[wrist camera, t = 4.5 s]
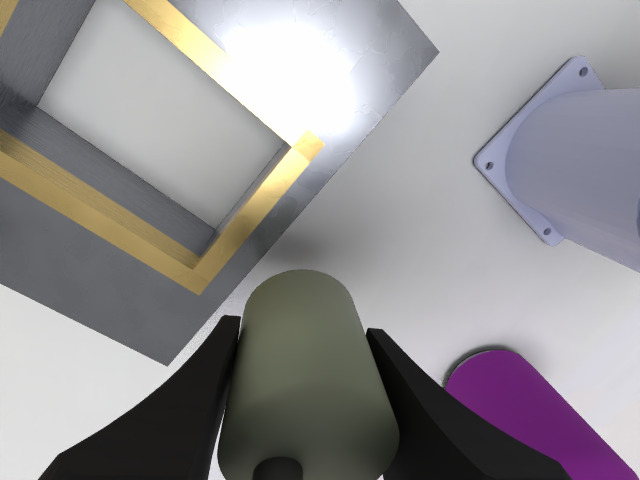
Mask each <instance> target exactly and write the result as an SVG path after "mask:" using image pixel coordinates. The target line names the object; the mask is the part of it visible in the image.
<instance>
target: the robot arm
mask: <svg viewBox="0 0 640 480" xmlns="http://www.w3.org/2000/svg"><path fill="white" fill-rule="evenodd" d="M581 69H582V74H581V75H579V72H580V70H581ZM488 162H489V163H490V166H489V167H488V168H487V169H486V168H485V166H486V164H487V163H488ZM474 164H475V166H476V167H477V168H478V169H479V170H480V172H481V173H482V174H483V175H484V176H485V177H486V178H487V179H488V180H489V181H490V183H491V184H492V185H493V186H494V187H495V188H496V189H497V190H498V191H499V193H500V194H501V195H502V196H503V197H504V198H505V199H506V200H507V201H508V202H509V204H510V205H511V206H512V207H513V208H514V209H515V210H516V211H517V212H518V214H519V215H520V216H521V217H522V218H523V219H524V220H525V221H526V222H527V224H528V225H529V226H530V227H531V228H532V229H533V230H534V231H535V232H536V233H537V235H538V236H539V237H540V238H541V239H542V240H543V241H544V242H545V243H546V244H547V245H549V246H555V245H557V244H558V243H559V242H560V241H562V240H563V239H564V238H566V239H568V240H571V241H573V242H575V243H577V244H579V245H581V246H584V247H586V248H588V249H590V250H592V251H594V252H597V253H599V254H601V255H603V256H605V257H607V258H609V259H612V260H614V261H616V262H618V263H620V264H622V265H625V266H627V267H629V268H631V269H633V270H635V271H637V272H640V88H627V89H609V90H606V89H605V88H604V86H603V84H602V83H601V81H600V80H599V78H598V76H597V75H596V73H595V72H594V70H593V68H592V67H591V65H590V64H589V62H588V60H587V59H586V58H585V57H584V56H576V57H573V58H571V59H570V60H569V61H568V62H567V63H566V64H565V65H564V66H563V67H562V68H561V69H560V70H559V71H558V72H557V73H556V74H555V75H554V76H553V77H552V79H551V80H550V81H549V82H548V83H547V84H546V85H545V86H544V87H543V88H542V89H541V90H540V91H539V92H538V93H537V94H536V95H535V96H534V97H533V98H532V99H531V100H530V101H529V102H528V103H527V104H526V105H525V106H524V107H523V108H522V109H521V110H520V111H519V112H518V113H517V114H516V115H515V116H514V117H513V118H512V119H511V120H510V121H509V122H508V123H507V124H506V125H505V127H504V128H503V129H502V130H501V131H500V132H499V133H498V134H497V135H496V136H495V137H494V138H493V139H492V140H491V141H490V142H489V143H488V144H487V145H486V146H485V147H484V148H483V149H482V150H481V151H480V152H479V153H478V154H477V155H476V157H475V159H474ZM545 229H547V230H546V231H545ZM544 231H545V232H544ZM240 319H241V316H229V315H224V316H222V317H221V319H220V320H219V322H218V324H217V325H216V327H215V328H214V329H213V331H212V332H211V333H210V335H209V336H208V337H207V339H206V340H205V341H204V342H203V343H202V345H201V346H200V347H199V348H198V349H197V350H196V352H195V353H194V354H193V355H192V356H191V357H190V358H189V359H188V360H187V361H186V362H185V363H184V364H183V365H182V366H181V367H180V368H179V369H178V370H177V371H176V372H175V373H174V374H173V375H172V376H171V377H170V378H169V379H168V380H167V381H166V382H164V383H163V384H162V385H161V386H160V387H159V388H157V389H156V390H155V391H154V392H153V393H151V394H150V395H149V396H148V397H146V398H145V399H144V400H143V401H141V402H140V403H139V404H137V405H136V406H135V407H133V408H132V409H131V410H129V411H128V412H126V413H125V414H123V415H122V416H120V417H119V418H117V419H116V420H115V421H113V422H112V423H110V424H109V425H107V426H106V427H104V428H103V429H101V430H100V431H98V432H96V433H95V434H93V435H91V436H90V437H88V438H86V439H84V440H83V441H81V442H79V443H78V444H76V445H74V446H73V447H71V448H69V449H67V450H65V451H64V452H62V453H60V454H58V455H57V457H56V458H55V459H54V460H53V462H52V463H51V464H50V465H49V466H48V468H47V469H46V470H45V471H44V473H43V474H42V475H41V476H40V478H39V479H38V480H208V475H209V470H210V465H211V459H212V455H213V451H214V446H215V442H216V439H217V435H218V431H219V428H220V424H221V421H222V417H223V414H224V410H225V406H226V402H227V397H228V391H229V386H230V381H231V376H232V371H233V365H234V360H235V355H236V350H237V345H238V337H239V328H240ZM366 338H367V341H368V344H369V347H370V349H371V352H372V355H373V358H374V360H375V363H376V366H377V369H378V371H379V374H380V377H381V380H382V383H383V385H384V388H385V391H386V394H387V396H388V399H389V402H390V405H391V407H392V410H393V413H394V416H395V419H396V421H397V424H398V428H399V446H398V450H397V453H396V455H395V457H394V459H393V461H392V463H391V464H390V466H389V467H388V468H387V470H386V471H385V472H384V473H383V478H384V480H573V479H572V478H571V477H570V476H569V474H568V473H567V472H566V470H565V469H564V468H563V467H562V465H561V464H560V463H559V462H558V461H556V460H554V459H552V458H550V457H549V456H547V455H545V454H543V453H541V452H539V451H537V450H535V449H533V448H531V447H529V446H528V445H526V444H524V443H522V442H520V441H519V440H517V439H515V438H514V437H512V436H510V435H508V434H507V433H505V432H503V431H502V430H500V429H499V428H497V427H495V426H494V425H492V424H491V423H489V422H488V421H486V420H485V419H483V418H482V417H480V416H479V415H477V414H476V413H474V412H473V411H472V410H470V409H469V408H467V407H466V406H465V405H463V404H462V403H461V402H459V401H458V400H457V399H456V398H454V397H453V396H452V395H451V394H449V393H448V392H447V391H446V390H444V389H443V388H442V387H441V386H440V385H438V384H437V383H436V382H435V381H434V380H433V379H432V378H431V377H430V376H428V375H427V374H426V373H425V372H424V371H423V370H422V369H421V368H420V367H419V366H418V365H417V364H416V363H415V362H414V361H413V360H412V359H411V358H410V357H409V356H408V355H407V354H406V353H405V352H404V351H403V350H402V349H401V348H400V347H399V346H398V345H397V344H396V343H395V342H394V341H393V340H392V339H391V337H390V336H389V335H388V334H387V333H386V332H384V331H383V330H382V329H375V328H368V329H367V332H366Z"/></svg>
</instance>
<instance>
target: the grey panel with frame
mask: <svg viewBox="0 0 640 480" xmlns="http://www.w3.org/2000/svg"><path fill="white" fill-rule="evenodd" d="M94 1H95V0H0V284H2V285H4V286H6V287H8V288H10V289H12V290H14V291H16V292H18V293H20V294H22V295H24V296H27V297H29V298H31V299H33V300H35V301H37V302H39V303H41V304H43V305H45V306H47V307H49V308H51V309H53V310H55V311H57V312H59V313H61V314H63V315H65V316H67V317H69V318H71V319H73V320H75V321H77V322H79V323H81V324H83V325H85V326H87V327H89V328H91V329H93V330H95V331H97V332H99V333H101V334H103V335H105V336H107V337H109V338H111V339H113V340H115V341H117V342H119V343H121V344H123V345H125V346H127V347H129V348H131V349H133V350H135V351H137V352H139V353H141V354H143V355H145V356H147V357H149V358H151V359H153V360H155V361H157V362H159V363H161V364H163V365H165V366H167V367H168V365H169V364H170V363H171V362H172V361H173V360H174V358H175V357H176V356H177V355H178V354H179V353H180V351H181V350H182V349H183V348H184V347H185V346H186V345H187V343H188V342H189V341H190V340H191V339H192V338H193V336H194V335H195V334H196V333H197V332H198V331H199V330H200V328H201V327H202V326H203V325H204V324H205V323H206V321H207V320H208V319H209V318H210V317H211V316H212V315H213V313H214V312H215V311H216V310H217V309H218V308H219V306H220V305H221V304H222V303H223V302H224V301H225V299H226V298H227V297H228V296H229V295H230V294H231V293H232V291H233V290H234V289H235V288H236V287H237V286H238V284H239V283H240V282H241V281H242V280H243V279H244V278H245V276H246V275H247V274H248V273H249V272H250V271H251V269H252V268H253V267H254V266H255V265H256V264H257V263H258V261H259V260H260V259H261V258H262V257H263V256H264V254H265V253H266V252H267V251H268V250H269V249H270V247H271V246H272V245H273V244H274V243H275V242H276V241H277V239H278V238H279V237H280V236H281V235H282V234H283V232H284V231H285V230H286V229H287V228H288V227H289V226H290V224H291V223H292V222H293V221H294V220H295V219H296V217H297V216H298V215H299V214H300V213H301V212H302V211H303V209H304V208H305V207H306V206H307V205H308V204H309V202H310V201H311V200H312V199H313V198H314V197H315V195H316V194H317V193H318V192H319V191H320V190H321V189H322V187H323V186H324V185H325V184H326V183H327V182H328V180H329V179H330V178H331V177H332V176H333V175H334V174H335V172H336V171H337V170H338V169H339V168H340V167H341V165H342V164H343V163H344V162H345V161H346V160H347V159H348V157H349V156H350V155H351V154H352V153H353V152H354V150H355V149H356V148H357V147H358V146H359V145H360V144H361V142H362V141H363V140H364V139H365V138H366V137H367V135H368V134H369V133H370V132H371V131H372V130H373V128H374V127H375V126H376V125H377V124H378V123H379V122H380V120H381V119H382V118H383V117H384V116H385V115H386V113H387V112H388V111H389V110H390V109H391V108H392V107H393V105H394V104H395V103H396V102H397V101H398V100H399V98H400V97H401V96H402V95H403V94H404V93H405V92H406V90H407V89H408V88H409V87H410V86H411V85H412V83H413V82H414V81H415V80H416V79H417V78H418V76H419V75H420V74H421V73H422V72H423V71H424V70H425V68H426V67H427V66H428V65H429V64H430V63H431V61H432V60H433V59H434V58H435V57H436V56H437V55H438V53H439V51H438V50H437V48H436V47H435V46H434V45H433V43H432V42H431V41H430V40H429V39H428V37H427V36H426V35H425V34H424V32H423V31H422V30H421V29H420V28H419V26H418V25H417V24H416V23H415V21H414V20H413V19H412V18H411V16H410V15H409V14H408V13H407V12H406V10H405V9H404V8H403V7H402V5H401V4H400V3H399V2H398V1H397V0H123V1H124V2H126V3H127V4H128V5H129V6H130V7H131V8H132V9H134V10H135V11H136V12H137V13H138V14H139V15H141V16H142V17H143V18H144V19H145V20H146V21H147V22H149V23H150V24H151V25H152V26H153V27H154V28H156V29H157V30H158V31H159V32H160V33H161V34H162V35H164V36H165V37H166V38H167V39H168V40H169V41H171V42H172V43H173V44H174V45H175V46H176V47H178V48H179V49H180V50H181V51H182V52H183V53H184V54H186V55H187V56H188V57H189V58H190V59H191V60H193V61H194V62H195V63H196V64H197V65H198V66H199V67H201V68H202V69H203V70H204V71H205V72H206V73H208V74H209V75H210V76H211V77H212V78H213V79H214V80H216V81H217V82H218V83H219V84H220V85H221V86H223V87H224V88H225V89H226V90H227V91H228V92H229V93H231V94H232V95H233V96H234V97H235V98H236V99H238V100H239V101H240V102H241V103H242V104H243V105H244V106H246V107H247V108H248V109H249V110H250V111H251V112H253V113H254V114H255V115H256V116H257V117H258V118H260V119H261V120H262V121H263V122H264V123H265V124H266V125H268V126H269V127H270V128H271V129H272V130H273V131H275V132H276V133H277V134H278V135H279V136H280V137H281V138H283V139H284V140H285V141H286V142H285V143H284V144H283V146H282V147H281V148H280V149H279V151H278V152H277V153H276V154H275V156H274V157H273V158H272V160H271V161H270V162H269V163H268V165H267V166H266V167H265V168H264V170H263V171H262V172H261V173H260V175H259V176H258V177H257V178H256V180H255V181H254V182H253V183H252V185H251V186H250V187H249V188H248V190H247V191H246V192H245V193H244V195H243V196H242V197H241V198H240V200H239V201H238V202H237V203H236V205H235V206H234V207H233V208H232V210H231V211H230V212H229V213H228V215H227V216H226V217H225V218H224V220H223V221H222V222H221V223H220V225H219V226H218V227H217V228H216V230H215V229H213V228H212V227H210V226H209V225H207V224H206V223H205V222H203V221H202V220H200V219H199V218H197V217H196V216H194V215H193V214H191V213H190V212H189V211H187V210H186V209H184V208H183V207H181V206H180V205H178V204H177V203H175V202H174V201H173V200H171V199H170V198H168V197H167V196H165V195H164V194H162V193H161V192H159V191H158V190H157V189H155V188H154V187H152V186H151V185H149V184H148V183H146V182H145V181H143V180H142V179H141V178H139V177H138V176H136V175H135V174H133V173H132V172H130V171H129V170H127V169H126V168H125V167H123V166H122V165H120V164H119V163H117V162H116V161H114V160H113V159H111V158H110V157H109V156H107V155H106V154H104V153H103V152H101V151H100V150H98V149H97V148H95V147H94V146H93V145H91V144H90V143H88V142H87V141H85V140H84V139H82V138H81V137H79V136H78V135H77V134H75V133H74V132H72V131H71V130H69V129H68V128H66V127H65V126H63V125H62V124H61V123H59V122H58V121H56V120H55V119H53V118H52V117H50V116H49V115H47V114H46V113H45V112H43V111H42V110H40V109H39V108H37V107H36V105H37V104H38V102H39V100H40V98H41V96H42V95H43V93H44V91H45V89H46V87H47V86H48V84H49V82H50V80H51V78H52V77H53V75H54V73H55V71H56V69H57V68H58V66H59V64H60V62H61V60H62V59H63V57H64V55H65V53H66V51H67V50H68V48H69V46H70V44H71V43H72V41H73V39H74V37H75V35H76V34H77V32H78V30H79V28H80V26H81V25H82V23H83V21H84V19H85V17H86V16H87V14H88V12H89V10H90V8H91V7H92V5H93V3H94Z"/></svg>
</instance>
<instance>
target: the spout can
mask: <svg viewBox="0 0 640 480" xmlns="http://www.w3.org/2000/svg"><path fill="white" fill-rule="evenodd" d="M398 446H399V428H398V424H397V421H396V419H395V416H394V413H393V410H392V407H391V405H390V402H389V399H388V396H387V394H386V391H385V388H384V385H383V383H382V380H381V377H380V374H379V371H378V369H377V366H376V363H375V360H374V358H373V355H372V352H371V349H370V347H369V344H368V341H367V338H366V335H365V333H364V330H363V327H362V324H361V322H360V319H359V316H358V313H357V310H356V308H355V305H354V302H353V300H352V297H351V295H350V293H349V292H348V290H347V289H346V288H345V287H344V286H343V285H342V284H341V283H340V282H339V281H337V280H336V279H335V278H333V277H331V276H329V275H327V274H324V273H322V272H318V271H314V270H291V271H286V272H282V273H280V274H277V275H274V276H272V277H271V278H269V279H267V280H266V281H264V282H263V283H261V284H260V285H259V286H258V287H257V288H256V289H255V290H254V291H253V293H252V294H251V296H250V297H249V299H248V301H247V303H246V305H245V309H244V313H243V319H242V324H241V329H240V334H239V339H238V345H237V350H236V355H235V360H234V365H233V371H232V376H231V381H230V386H229V391H228V397H227V402H226V407H225V412H224V417H223V423H222V428H221V433H220V438H219V443H218V451H217V458H218V464H219V467H220V470H221V472H222V474H223V476H224V478H225V479H226V480H377V479H378V478H379V477H380V476H381V475H382V474H383V473H384V472H385V471H386V470H387V468H388V467H389V466H390V464H391V463H392V461H393V459H394V457H395V455H396V453H397V450H398Z"/></svg>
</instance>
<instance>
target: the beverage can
mask: <svg viewBox="0 0 640 480" xmlns="http://www.w3.org/2000/svg"><path fill="white" fill-rule="evenodd" d="M445 390H446V391H447V392H448V393H449V394H451V395H452V396H453V397H454V398H456V399H457V400H458V401H459V402H461V403H462V404H463V405H465V406H466V407H467V408H469V409H470V410H472V411H473V412H474V413H476V414H477V415H479V416H480V417H482V418H483V419H485V420H486V421H488V422H489V423H491V424H492V425H494V426H495V427H497V428H499V429H500V430H502V431H503V432H505V433H507V434H508V435H510V436H512V437H514V438H515V439H517V440H519V441H520V442H522V443H524V444H526V445H528V446H529V447H531V448H533V449H535V450H537V451H539V452H541V453H543V454H545V455H547V456H549V457H550V458H552V459H554V460H556V461H558V462H559V463H560V464H561V465H562V467H563V468H564V469H565V470H566V472H567V473H568V474H569V476H570V477H571V478H572V479H573V480H639V478H638V476H637V475H636V473H635V472H634V471H633V470H632V469H631V468H630V467H629V466H628V465H627V464H626V463H625V462H624V461H623V460H622V459H621V458H620V457H619V456H618V455H617V454H616V452H615V451H614V450H613V449H612V448H611V447H610V446H609V445H608V444H607V443H606V442H605V441H604V440H603V439H602V438H601V437H600V436H599V435H598V434H597V433H596V432H595V431H594V430H593V429H592V428H591V426H590V425H589V424H588V423H587V422H586V421H585V420H584V419H583V418H582V417H581V416H580V415H579V414H578V413H577V412H576V411H575V410H574V409H573V408H572V407H571V406H570V405H569V404H568V403H567V402H566V401H565V399H564V398H563V397H562V396H561V395H560V394H559V393H558V392H557V391H556V390H555V389H554V388H553V387H552V386H551V385H550V384H549V383H548V382H547V381H546V380H545V379H544V378H543V377H542V376H541V375H540V373H539V372H538V371H537V370H536V369H535V368H534V367H533V366H532V365H531V364H529V363H528V362H527V361H526V360H525V359H524V358H523V357H522V356H520V355H519V354H517V353H514V352H511V351H508V350H487V351H483V352H479V353H476V354H474V355H472V356H470V357H468V358H466V359H465V360H463V361H462V362H461V363H460V364H458V365H457V367H456V368H455V369H454V371H453V372H452V374H451V376H450V378H449V380H448V382H447V385H446V388H445Z"/></svg>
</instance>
